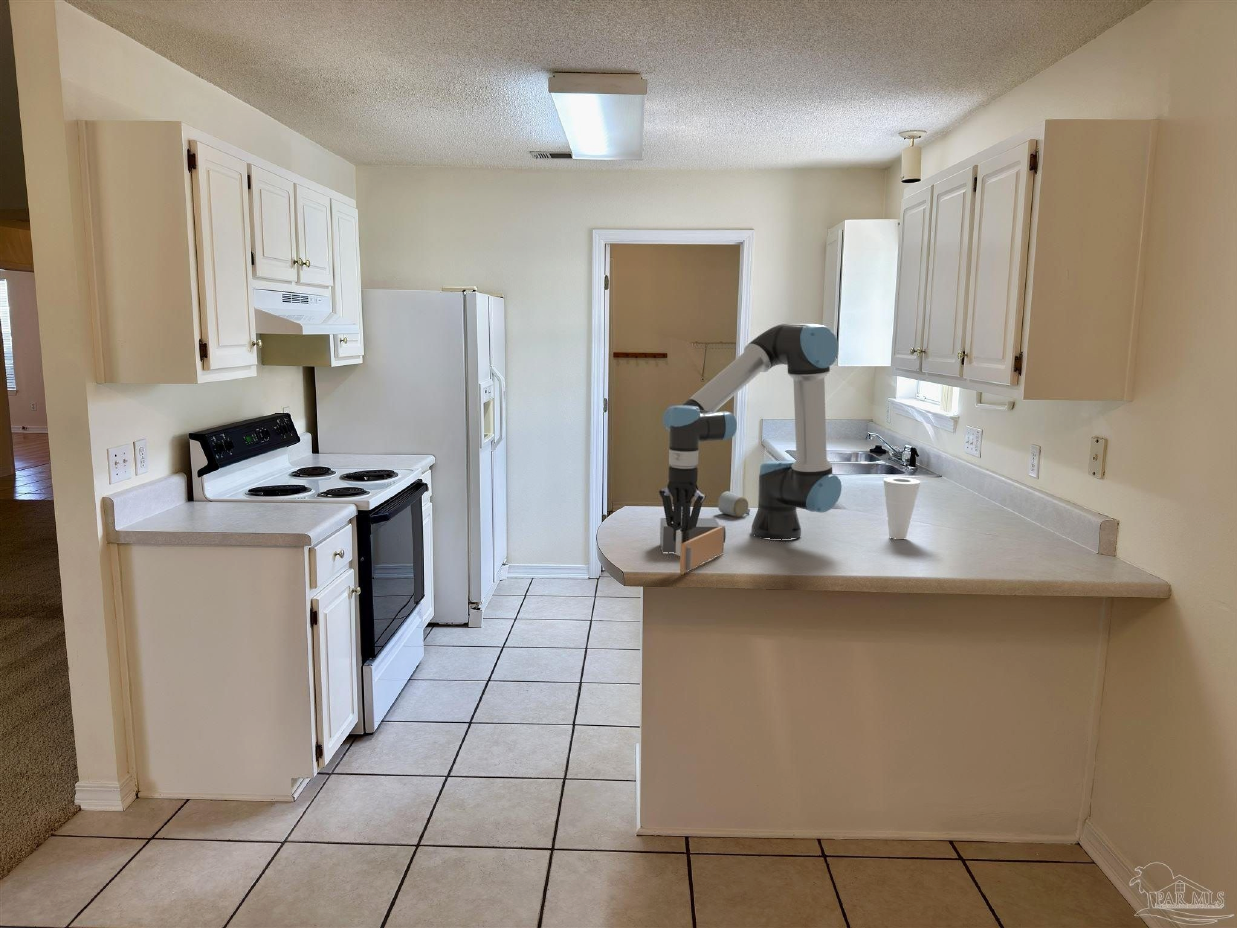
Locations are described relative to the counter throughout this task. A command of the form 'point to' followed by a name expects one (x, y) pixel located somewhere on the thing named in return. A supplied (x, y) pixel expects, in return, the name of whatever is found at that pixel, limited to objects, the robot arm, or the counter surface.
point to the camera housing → (701, 528)
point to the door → (701, 549)
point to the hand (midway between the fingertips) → (680, 553)
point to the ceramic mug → (733, 504)
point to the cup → (900, 504)
